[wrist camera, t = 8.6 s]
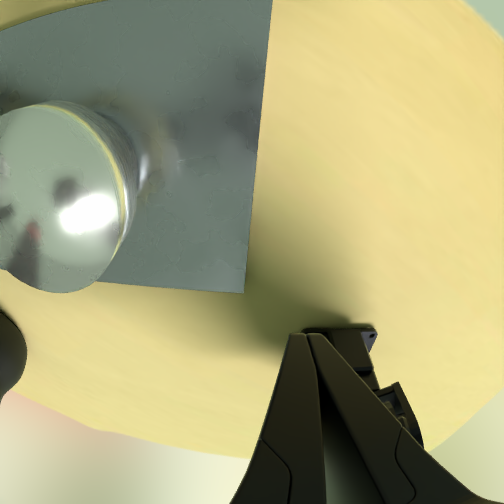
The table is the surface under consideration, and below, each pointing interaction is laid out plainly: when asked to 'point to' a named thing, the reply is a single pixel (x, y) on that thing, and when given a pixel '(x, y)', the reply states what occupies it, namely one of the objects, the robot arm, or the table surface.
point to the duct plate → (161, 121)
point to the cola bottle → (10, 355)
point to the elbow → (62, 195)
